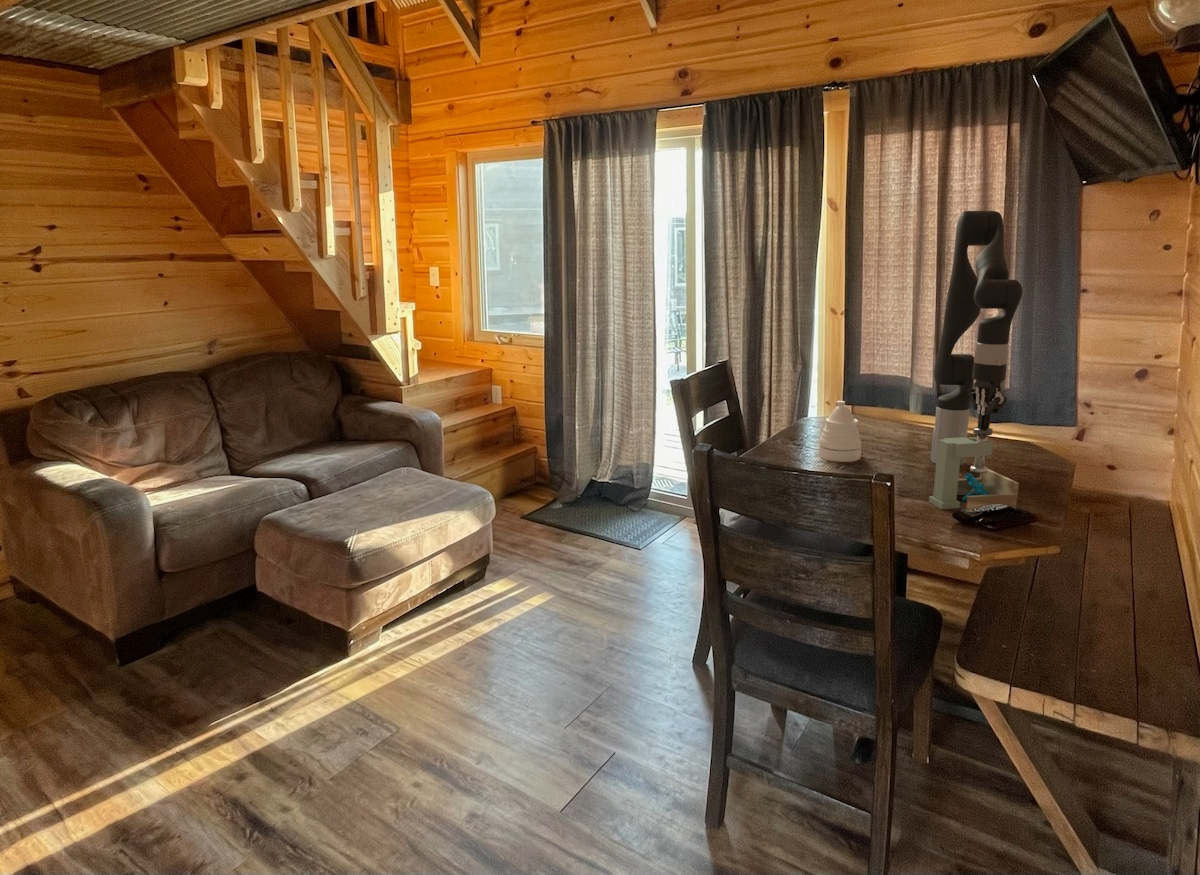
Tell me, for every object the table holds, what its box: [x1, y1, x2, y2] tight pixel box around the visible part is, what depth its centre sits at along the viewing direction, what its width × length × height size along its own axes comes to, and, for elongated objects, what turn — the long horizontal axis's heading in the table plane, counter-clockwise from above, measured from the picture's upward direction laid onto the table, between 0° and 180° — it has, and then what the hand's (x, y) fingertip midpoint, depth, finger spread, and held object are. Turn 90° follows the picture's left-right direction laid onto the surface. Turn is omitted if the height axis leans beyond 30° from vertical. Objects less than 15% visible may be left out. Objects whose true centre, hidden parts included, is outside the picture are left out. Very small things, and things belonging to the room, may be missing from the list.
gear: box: [961, 472, 990, 502], centre depth 209 cm, size 11×6×10 cm
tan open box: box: [957, 468, 1020, 511], centre depth 208 cm, size 14×13×7 cm
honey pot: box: [817, 400, 862, 463], centre depth 251 cm, size 13×13×18 cm
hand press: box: [928, 436, 994, 510], centre depth 206 cm, size 6×13×17 cm, turn 98°
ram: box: [969, 426, 994, 474], centre depth 205 cm, size 4×4×11 cm
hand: (983, 428), depth 204 cm, fingers closed
